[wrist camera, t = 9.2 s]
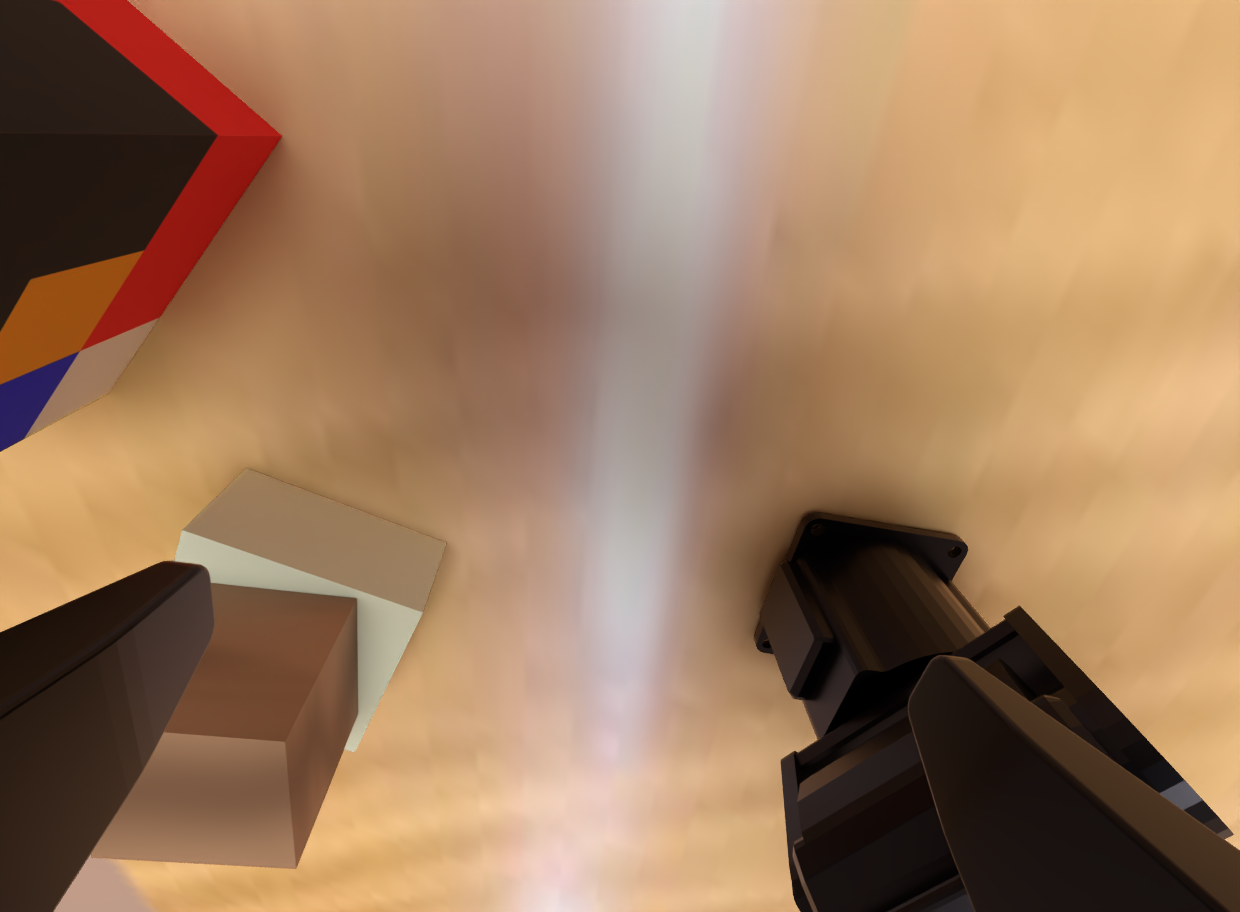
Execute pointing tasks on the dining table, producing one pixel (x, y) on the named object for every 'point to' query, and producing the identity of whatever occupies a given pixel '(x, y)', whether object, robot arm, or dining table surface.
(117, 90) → the puzzle toy
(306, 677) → the walnut cube
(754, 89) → the dining table surface
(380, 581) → the base block
